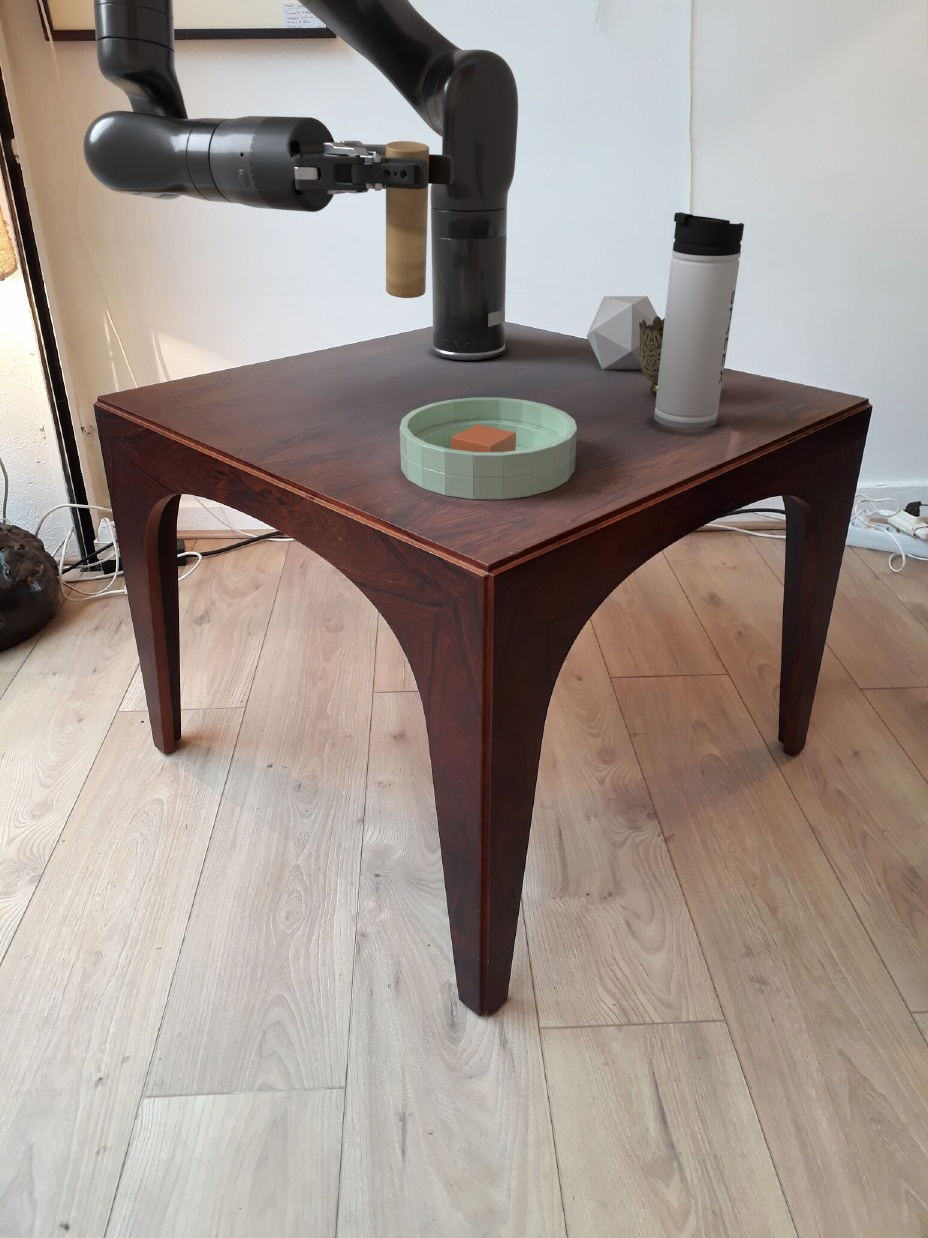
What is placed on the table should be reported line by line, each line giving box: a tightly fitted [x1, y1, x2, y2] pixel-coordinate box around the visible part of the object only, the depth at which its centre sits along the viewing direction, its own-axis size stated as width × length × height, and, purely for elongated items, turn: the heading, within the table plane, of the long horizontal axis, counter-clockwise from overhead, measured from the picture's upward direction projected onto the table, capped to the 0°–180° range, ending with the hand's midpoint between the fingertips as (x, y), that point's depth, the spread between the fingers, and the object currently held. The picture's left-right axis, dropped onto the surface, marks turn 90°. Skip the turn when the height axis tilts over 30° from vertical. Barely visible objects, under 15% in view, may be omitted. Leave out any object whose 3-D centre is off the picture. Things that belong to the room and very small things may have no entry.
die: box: [586, 295, 658, 370], centre depth 110 cm, size 8×9×10 cm
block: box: [451, 424, 516, 452], centre depth 78 cm, size 4×4×4 cm
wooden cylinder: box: [385, 140, 430, 299], centre depth 79 cm, size 4×4×12 cm
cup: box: [639, 315, 665, 398], centre depth 99 cm, size 8×7×8 cm
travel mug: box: [653, 212, 745, 430], centre depth 88 cm, size 6×7×20 cm
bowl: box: [399, 396, 578, 501], centre depth 81 cm, size 15×15×4 cm
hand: (438, 171), depth 75 cm, fingers closed on wooden cylinder, 3 cm apart
